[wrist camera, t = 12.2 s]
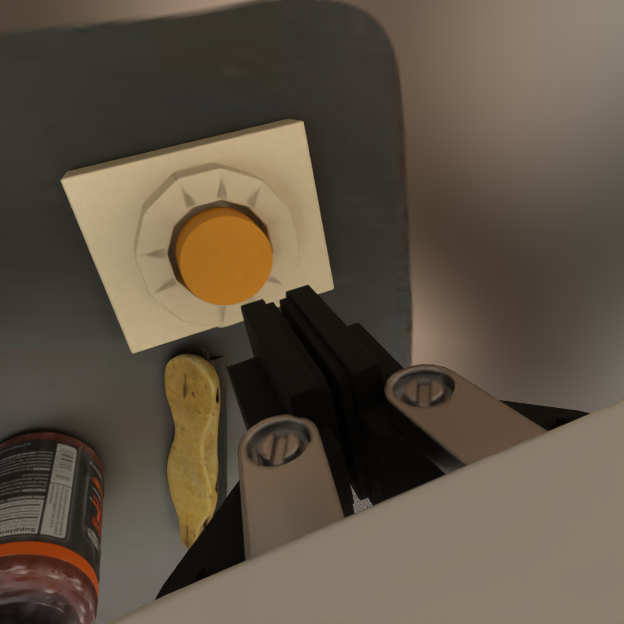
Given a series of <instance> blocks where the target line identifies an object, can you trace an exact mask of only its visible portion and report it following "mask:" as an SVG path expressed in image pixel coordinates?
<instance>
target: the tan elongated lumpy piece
mask: <svg viewBox="0 0 624 624" xmlns="http://www.w3.org/2000/svg"><path fill="white" fill-rule="evenodd" d="M200 351H201V355H202V356H196V355H193V354H182V355H178V356H176V357H174V358H172V359H171V360H170V361H169V362H168V363H167V366H166V369H165V391H166V396H167V399H168V403H169V406H170V409H171V413H172V416H173V420H174V424H175V436H174V440H173V444H172V446H171V449H170V453H169V456H168V462H167V479H168V484H169V488H170V493H171V497H172V501H173V503H174V506H175V509H176V512H177V515H178V519H179V525H180V531H181V541H182V544H183V545H184V546H186V547H187V548H188V549H190V547H191V546H192V545H193V543H194V542H195V541H196V539H197V538H198V536H199V535H200V534H201V532H202V531H203V530H204V528H205V527H206V525H207V524H208V523H209V521H210V520H211V518H212V517H213V516H214V514H215V513H216V512H217V510H218V509H219V507H220V506H221V505H222V503H223V502H224V501H225V499H226V488H227V481H226V480H227V417H226V414H227V413H226V367H225V358H224V357H222V358H218V359H215V360H209V354H208V352H207V351H206V350H205V349H201V350H200Z"/></svg>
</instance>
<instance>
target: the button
mask: <svg viewBox="0 0 624 624" xmlns="http://www.w3.org/2000/svg"><path fill="white" fill-rule="evenodd" d="M176 259H177V263H178V266H179V269H180V273H181V276H182V278H183V281H184V283H185V284H186V286H187V287H188V288H189V290H190V291H191V292H192V293H193V294H194V295H195V296H197V297H198V298H200V299H201V300H203V301H205V302H208V303H211V304H215V305H234V304H238V303H241V302H244V301H246V300H248V299H250V298H251V297H253V296H254V295H255V294H256V293H257V292H259V291H260V289H261V288H262V287H263V286H264V284H265V283H266V281H267V279H268V278H269V275H270V272H271V269H272V262H273V256H272V249H271V246H270V243H269V241H268V238H267V237H266V235H265V234H264V232H263V231H262V230H261V229H260V228H259V227H258V226H257V225H256V224H255V223H254V222H253V221H252V220H251V219H250V218H249V217H248V216H246V215H245V214H243V213H242V212H240V211H238V210H235V209H232V208H227V207H213V208H208V209H205V210H202V211H200V212H198V213H197V214H195V215H194V216H192V217H191V218H190V219H189V220H188V221H187V222H186V223H185V224H184V226H183V227H182V229H181V230H180V233H179V235H178V238H177V241H176Z"/></svg>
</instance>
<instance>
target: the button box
mask: <svg viewBox="0 0 624 624" xmlns="http://www.w3.org/2000/svg"><path fill="white" fill-rule="evenodd" d="M61 183H62V186H63V188H64V191H65V193H66V195H67V198H68V200H69V203H70V205H71V207H72V210H73V212H74V215H75V217H76V220H77V222H78V224H79V227H80V229H81V232H82V234H83V237H84V239H85V241H86V244H87V246H88V249H89V251H90V253H91V256H92V258H93V261H94V263H95V266H96V268H97V270H98V273H99V275H100V278H101V280H102V283H103V285H104V287H105V290H106V292H107V295H108V297H109V300H110V302H111V304H112V307H113V309H114V312H115V314H116V316H117V319H118V321H119V324H120V326H121V329H122V331H123V333H124V336H125V338H126V341H127V343H128V346H129V348H130V350H131V352H132V353H136V352H139V351H143V350H146V349H149V348H152V347H155V346H158V345H161V344H164V343H167V342H171V341H174V340H177V339H180V338H183V337H186V336H189V335H192V334H195V333H199V332H202V331H205V330H208V329H211V328H214V327H221V328H222V327H226V326H229V325H232V324H235V323H239V322H242V321H244V319H243V315H242V312H241V305H244V304H248V303H251V302H254V301H257V300H260V299H263V300H264V301H265V303H266V304H268V303H271V302H274V303H275V305H276V306H277V307H280V302H279V301H280V299H283V298H286V291H289V290H292V289H295V288H298V287H302V286H305V285H309V286H310V287H311V288H312V289H313V290H314V291H315V292H316V293H317V294H320V293H323V292H326V291H329V290H333V289H334V285H333V279H332V274H331V268H330V263H329V258H328V252H327V247H326V241H325V236H324V230H323V225H322V220H321V214H320V209H319V203H318V198H317V192H316V187H315V181H314V176H313V171H312V165H311V160H310V154H309V149H308V143H307V138H306V133H305V127H304V122H303V121H299V120H292V119H285V120H281V121H276V122H272V123H268V124H264V125H260V126H255V127H251V128H247V129H243V130H239V131H235V132H230V133H226V134H222V135H218V136H214V137H209V138H205V139H201V140H197V141H193V142H188V143H184V144H180V145H176V146H172V147H167V148H163V149H159V150H155V151H151V152H146V153H142V154H138V155H134V156H130V157H125V158H121V159H117V160H113V161H109V162H104V163H100V164H96V165H92V166H88V167H83V168H79V169H75V170H71V171H67V172H66V173H65V175H64V176H63V177H62V179H61ZM213 207H227V208H232V209H235V210H238V211H240V212H242V213H243V214H245V215H246V216H248V217H249V218H250V219H251V220H252V221H253V222H254V223H255V224H256V225H257V226H258V227H259V228H260V229H261V230H262V231H263V232H264V234H265V235H266V237H267V238H268V241H269V243H270V246H271V249H272V256H273V262H272V269H271V272H270V275H269V278H268V279H267V281H266V283H265V284H264V286H263V287H262V288H261V289H260V291H259V292H257V293H256V294H255V295H254V296H253V297H251V298H250V299H248V300H246V301H244V302H241V303H238V304H234V305H215V304H211V303H208V302H205V301H203V300H201V299H200V298H198V297H197V296H195V295H194V294H193V293H192V292H191V291H190V290H189V288H188V287H187V286H186V284H185V283H184V281H183V278H182V276H181V273H180V269H179V266H178V263H177V259H176V241H177V238H178V235H179V233H180V230H181V229H182V227H183V226H184V224H185V223H186V222H187V221H188V220H189V219H190V218H191V217H192V216H194V215H195V214H197V213H198V212H200V211H202V210H205V209H208V208H213Z"/></svg>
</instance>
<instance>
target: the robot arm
mask: <svg viewBox="0 0 624 624" xmlns="http://www.w3.org/2000/svg"><path fill="white" fill-rule="evenodd" d="M279 302H280V308H281V312H282V313H281V312H280V311H279V309H278V308H277V306H276V305H275V303H274V302H271V303H268V304H266V303H265V301H264V300H263V299H260V300H257V301H254V302H251V303H248V304H244V305H241V312H242V315H243V319H244V322H245V326H246V330H247V333H248V337H249V340H250V344H251V347H252V351H253V354H254V358H252V359H249V360H246V361H243V362H240V363H237V364H234V365H231V366H228V367H227V370H228V373H229V376H230V380H231V383H232V386H233V389H234V392H235V395H236V399H237V402H238V405H239V408H240V411H241V414H242V417H243V420H244V423H245V426H246V429H247V432H246V433H245V434H244V436H243V437H242V439H241V441H240V443H239V446H238V466H239V481H238V483H237V484H236V485H235V487H234V488H233V489H232V491H231V492H230V494H229V495H228V496H227V498H226V499H225V501H224V502H223V503H222V505H221V506H220V507H219V509H218V510H217V512H216V513H215V514H214V516H213V517H212V518H211V520H210V521H209V523H208V524H207V525H206V527H205V528H204V530H203V531H202V532H201V534H200V535H199V536H198V538H197V539H196V541H195V542H194V543H193V545H192V546H191V547H190V549H189V550H188V552H187V553H186V554H185V556H184V557H183V559H182V560H181V561H180V563H179V564H178V565H177V567H176V568H175V570H174V571H173V572H172V574H171V575H170V576H169V578H168V579H167V581H166V582H165V583H164V585H163V586H162V588H161V590H160V592H159V593H158V595H157V597H156V599H155V600H154V601H152V602H150V603H148V604H146V605H144V606H142V607H140V608H137V609H135V610H133V611H131V612H129V613H127V614H125V615H123V616H120V617H118V618H116V619H114V620H112V621H110V622H108V623H106V624H624V400H622V401H620V402H617V403H615V404H612V405H610V406H608V407H605V408H603V409H601V410H598V411H596V412H594V413H586V412H582V411H577V410H570V409H562V408H555V407H547V406H540V405H532V404H525V403H517V402H510V401H502V400H498V399H496V398H495V397H493V396H492V395H490V394H489V393H487V392H485V391H484V390H482V389H481V388H479V387H478V386H476V385H474V384H473V383H471V382H470V381H468V380H467V379H465V378H463V377H462V376H460V375H459V374H457V373H456V372H454V371H452V370H450V369H448V368H445V367H442V366H437V365H426V364H425V365H424V364H421V365H414V366H409V367H407V368H403V367H402V366H401V365H400V364H399V363H398V362H397V361H396V360H395V359H394V358H393V357H392V356H391V355H390V354H389V353H388V352H387V351H386V350H385V349H384V348H383V347H382V346H381V345H380V344H379V343H378V342H377V341H376V340H375V339H374V338H373V337H372V336H371V335H370V334H369V333H368V332H367V331H366V330H365V329H364V328H363V327H362V326H361V325H360V324H359V323H355V324H352V325H349V326H346V325H345V324H344V323H343V322H342V321H341V319H340V318H339V317H338V316H337V315H336V314H335V313H334V312H333V311H332V310H331V309H330V307H329V306H328V305H327V304H326V303H325V302H324V301H323V300H322V299H321V298H320V297H319V296H318V294H317V293H316V292H315V291H314V290H313V289H312V288H311V287H310V286H309V285H305V286H302V287H298V288H295V289H292V290H289V291H286V298H283V299H280V301H279ZM350 484H351V486H352V488H353V489H354V491H355V493H356V495H357V496H358V498H359V499H360V500H363V499H366V498H369V500H370V502H371V503H372V505H373V506H371V507H369V508H366V509H364V510H362V511H359V512H357V513H355V514H354V509H353V505H352V504H353V503H354V501H353V495H352V490H351V486H350Z"/></svg>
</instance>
